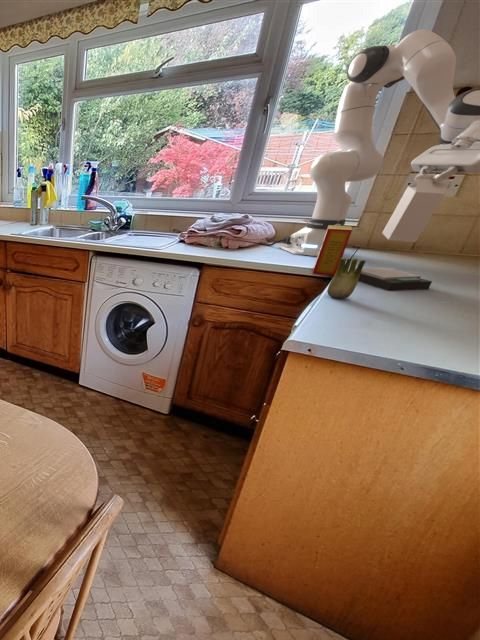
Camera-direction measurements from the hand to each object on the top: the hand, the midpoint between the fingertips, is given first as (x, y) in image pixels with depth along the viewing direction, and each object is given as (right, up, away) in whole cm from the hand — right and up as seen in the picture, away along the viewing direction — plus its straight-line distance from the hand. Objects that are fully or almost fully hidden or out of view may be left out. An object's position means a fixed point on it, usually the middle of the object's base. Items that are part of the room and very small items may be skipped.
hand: (425, 180), depth 132 cm
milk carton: (+1, -15, +10) cm, 18 cm away
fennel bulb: (-27, -36, 0) cm, 45 cm away
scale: (0, -29, +12) cm, 31 cm away
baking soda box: (-9, -21, +27) cm, 35 cm away
